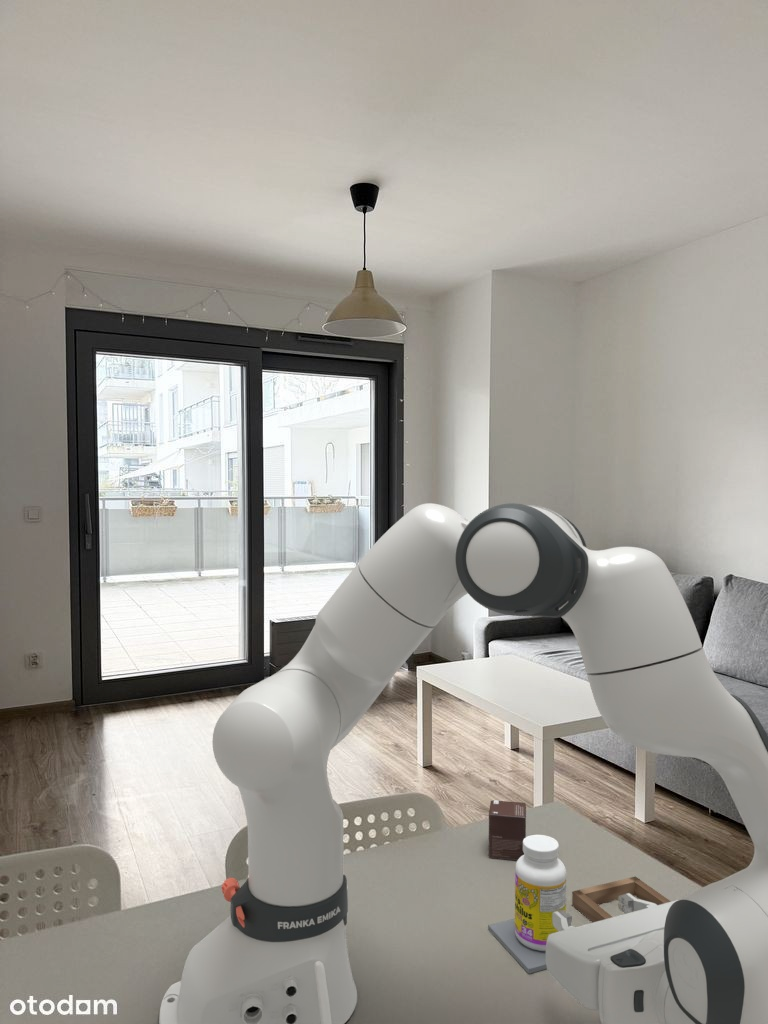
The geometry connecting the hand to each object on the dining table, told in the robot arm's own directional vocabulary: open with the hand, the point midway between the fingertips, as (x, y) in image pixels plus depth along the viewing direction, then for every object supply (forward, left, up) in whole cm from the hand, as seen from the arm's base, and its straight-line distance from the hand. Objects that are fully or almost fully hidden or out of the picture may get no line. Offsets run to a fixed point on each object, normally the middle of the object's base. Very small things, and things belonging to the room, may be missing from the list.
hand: (590, 908), depth 87 cm
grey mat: (0, +10, -10) cm, 14 cm away
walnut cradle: (+15, +10, -10) cm, 21 cm away
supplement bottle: (0, +10, -10) cm, 14 cm away
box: (+9, +33, -10) cm, 36 cm away
